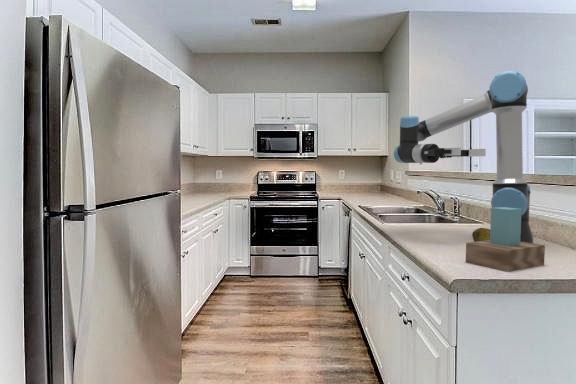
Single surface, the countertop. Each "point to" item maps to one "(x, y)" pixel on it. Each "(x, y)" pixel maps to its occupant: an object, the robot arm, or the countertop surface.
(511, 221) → the teal block
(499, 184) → the robot arm
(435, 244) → the countertop surface
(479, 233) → the potato
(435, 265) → the countertop surface
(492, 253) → the block
